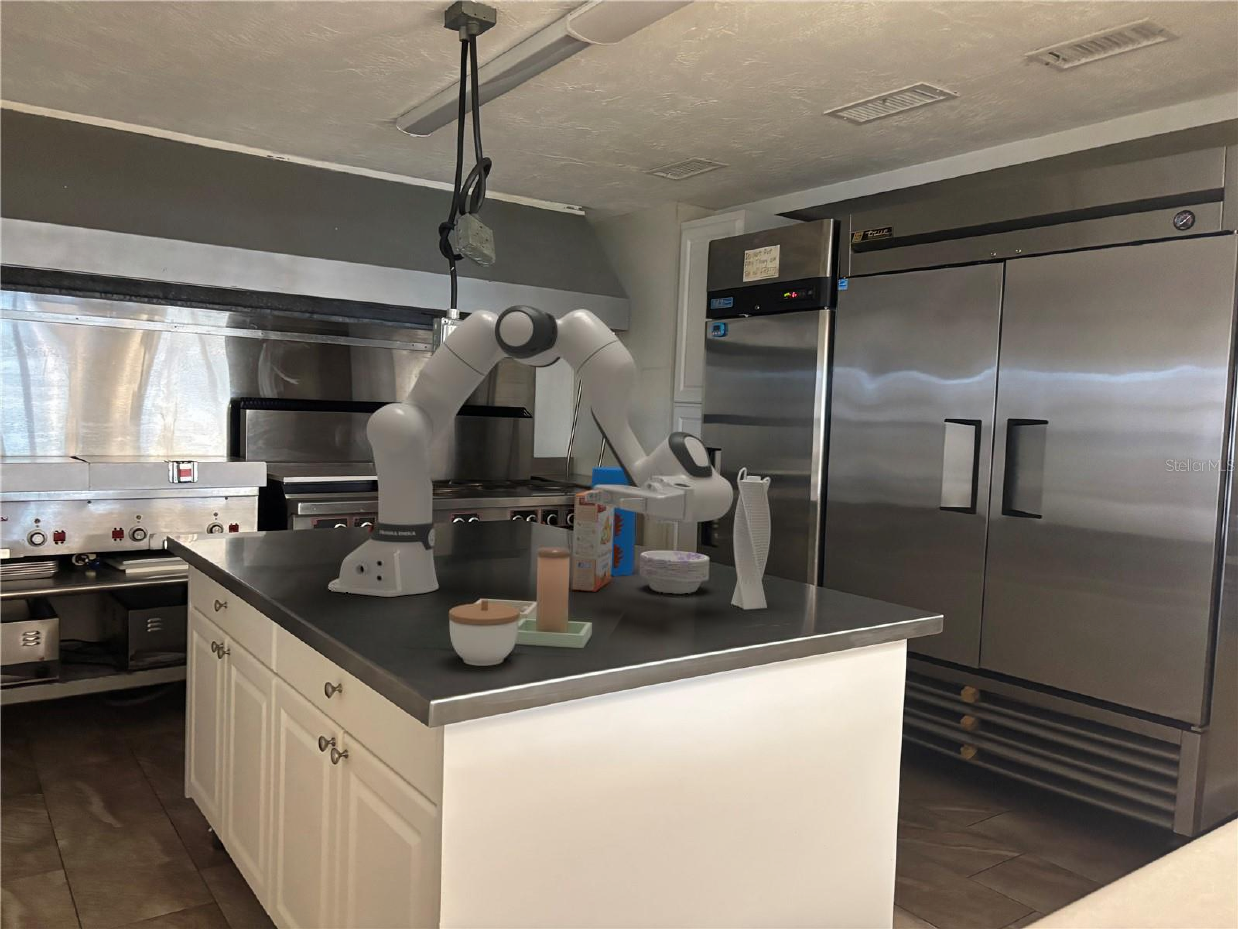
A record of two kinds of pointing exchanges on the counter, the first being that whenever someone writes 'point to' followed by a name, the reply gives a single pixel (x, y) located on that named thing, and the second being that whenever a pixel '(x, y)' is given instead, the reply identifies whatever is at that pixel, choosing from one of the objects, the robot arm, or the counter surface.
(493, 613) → the lidded jar
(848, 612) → the counter surface
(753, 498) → the skyscraper
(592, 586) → the cracker box
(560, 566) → the terracotta canister
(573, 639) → the sage tray
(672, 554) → the paper bowls
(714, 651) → the counter surface
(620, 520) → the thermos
